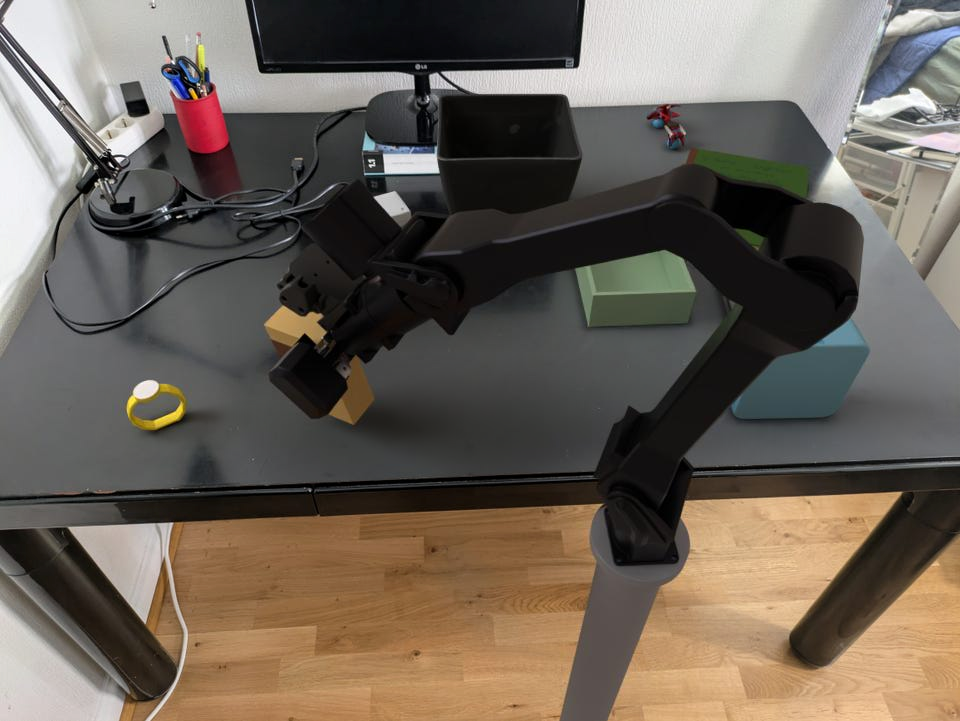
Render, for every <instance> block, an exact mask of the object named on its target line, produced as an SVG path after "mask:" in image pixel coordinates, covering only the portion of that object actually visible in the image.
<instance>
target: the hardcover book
mask: <svg viewBox="0 0 960 721" xmlns="http://www.w3.org/2000/svg"><path fill="white" fill-rule="evenodd" d="M685 164H698V165H702V166H705V167H708V168H710V169H712V170H714V171H716V172H718V173H720V174H722V175H725V176H727V177H729V178H733V179H740V180H746V181H753V182H760V183H767V184H774V185H777V186H780V187H782V188H784V189H787V190H789V191H791V192H793V193H795V194H797V195H799V196H801V197H804V198H806V199H807V195H808V183H809V174H810V167H809V166H803V165H798V164H792V163H787V162H786V163H785V162H779V161H774V160H767V159H762V158H758V157H757V158H756V157H751V156H744V155H739V154H733V153H727V152H721V151H716V150H710V149H703V148H698V147H692V146H691V147H690V150H689V152H688V155H687V159H686V162H685ZM735 230H736V231H737V232H738V233H739V234H740V235H741V236H742V237H743V238H744V239H746V240H747V241H748V242H749V243H750V244H751V245H752V246H753V247H754V248H755V249H756V250H758V249H759V247H760V245H761V243H762V241H763V239H764V237H761V236H759V235H757V234H755V233H753V232H751V231H748V230H741V229H735Z"/></svg>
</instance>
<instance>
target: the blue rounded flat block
mask: <svg viewBox="0 0 960 721" xmlns="http://www.w3.org/2000/svg"><path fill="white" fill-rule="evenodd" d="M870 353H871V348H870V346H869V344H868V343H867V341H866V339H865V338H864V336H863V334H862V333H861V331H860V329H859V328H858V326H857V324H856V322H855V320H854V319H853V318H851V317H850V319H849V320H848V321H847V322H846V323H845V324H843V325H842V326H841V327H839V328H838V329H836V330H835V331H834V332H832V333H831V334H829V335H828V336H826V337H825V338H823V339H822V340H821V341H819V342H818V343H816V344H815V345H813V346H812V347H811V348H809V349H808V350H805V351H802V352H797V353H793V354H788V355H784V356H780V357H778V358H776V359H775V360H774V361H772V362H771V364H770V365H769V366H768V367H767V368H766V369H765V370H764V371H763V372H762V373H761V374H760V375H759V376H758V377H757V379H756V380H755V381H754V382H753V383H752V384H751V385H750V386H749V387H748V388H747V389H746V390H745V391H744V392H743V394H742V395H741V396H740V397H739V398H738V399H737V400H736V401H735V402H734V403H733V404H732V405H731V406H730V408H731V411H732V413H733V415H734V416H735V417H736V418H738V419H740V420H763V419H764V420H766V419H767V420H768V419H770V420H771V419H772V420H773V419H820V418H826V417H829V416H832V415H833V414H835V413H836V412H837V411H838V410H839V408H840V407H841V404H842V403H843V402H844V400H845V397H846V396H847V394H848V392H849V391H850V389H851V387H852V386H853V384H854V382H855V380H856V378H857V377H858V375H859V373H860V372H861V369H862V368H863V366H864V364H865V363H866V361H867V359H868V357H869V356H870Z"/></svg>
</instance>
